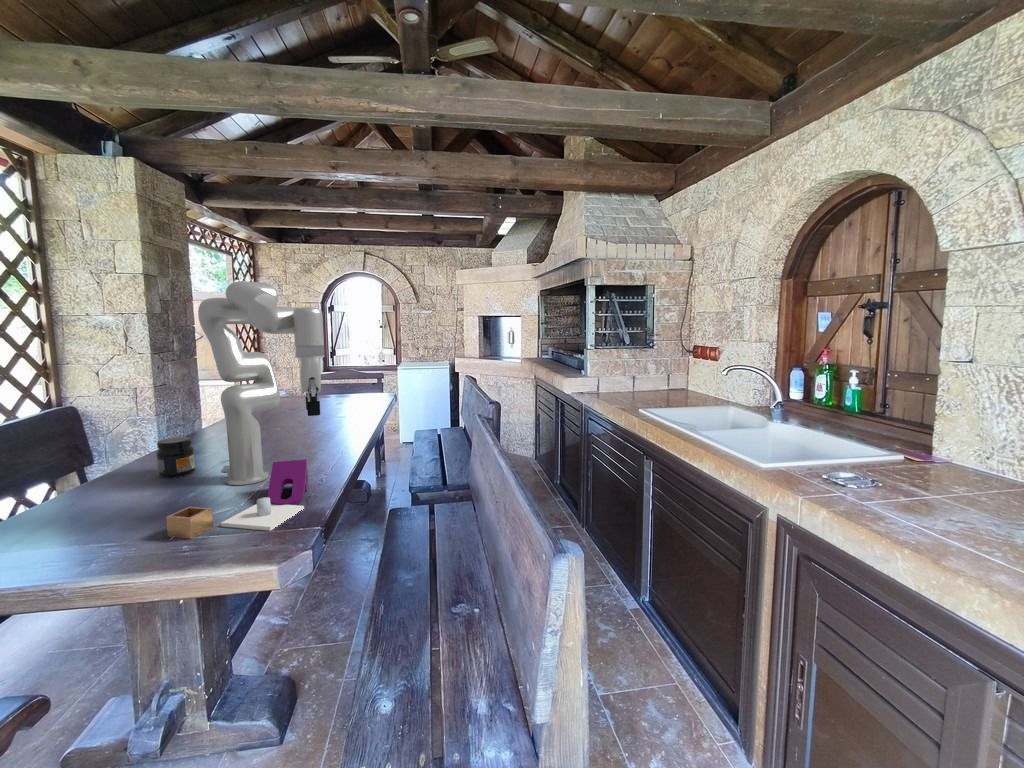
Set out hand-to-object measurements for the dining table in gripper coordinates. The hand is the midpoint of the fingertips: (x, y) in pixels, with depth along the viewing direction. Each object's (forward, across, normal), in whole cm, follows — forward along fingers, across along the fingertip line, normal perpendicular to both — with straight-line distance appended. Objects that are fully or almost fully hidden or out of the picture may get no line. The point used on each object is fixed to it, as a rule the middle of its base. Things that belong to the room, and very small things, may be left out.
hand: (313, 412), depth 135 cm
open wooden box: (+26, +9, -30) cm, 41 cm away
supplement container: (+27, -48, -42) cm, 69 cm away
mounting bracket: (+27, -7, -8) cm, 29 cm away
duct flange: (+26, +7, -14) cm, 30 cm away
